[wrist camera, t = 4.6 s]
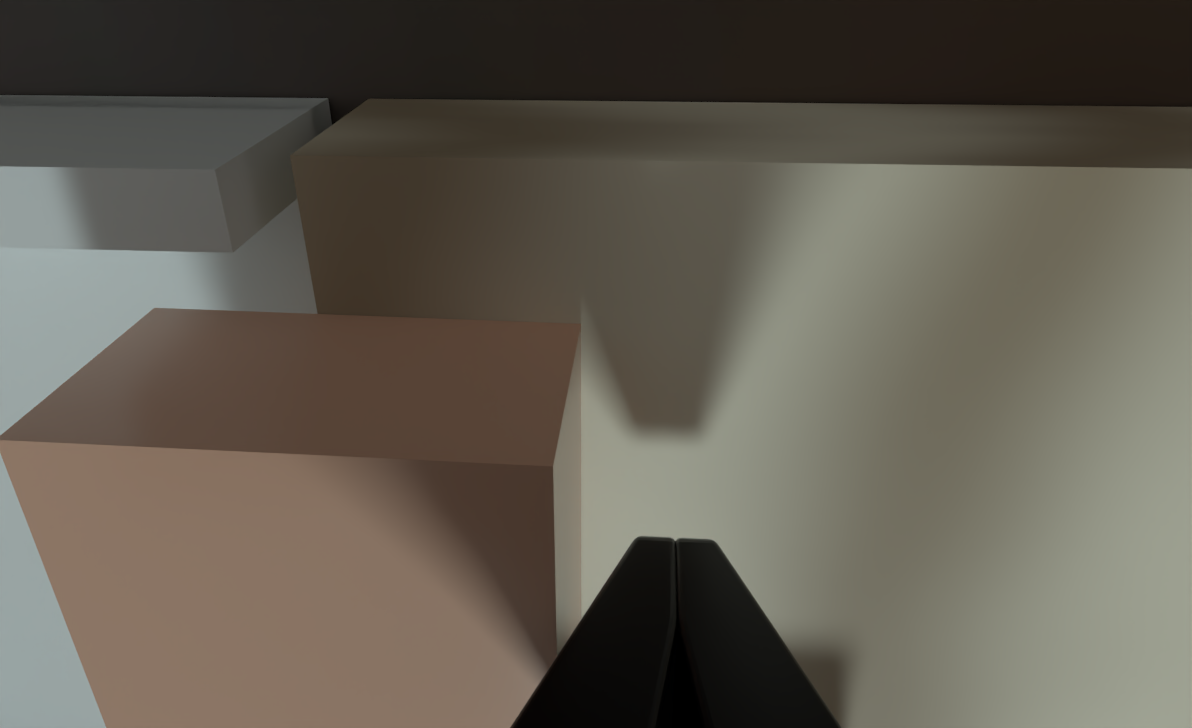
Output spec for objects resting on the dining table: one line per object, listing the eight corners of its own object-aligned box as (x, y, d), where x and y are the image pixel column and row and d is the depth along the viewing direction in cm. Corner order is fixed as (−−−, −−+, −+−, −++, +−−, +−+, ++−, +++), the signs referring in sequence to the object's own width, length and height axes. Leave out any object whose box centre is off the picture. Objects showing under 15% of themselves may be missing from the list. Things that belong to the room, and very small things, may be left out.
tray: (328, 97, 11) (214, 169, 8) (441, 856, 18) (401, 1025, 15) (-364, 91, 11) (-680, 155, 9) (17, 827, 18) (-92, 984, 16)
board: (1627, 111, 10) (1910, 178, 7) (1189, 908, 17) (1267, 1062, 15) (369, 98, 11) (289, 155, 8) (465, 858, 18) (437, 995, 16)
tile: (580, 323, 9) (553, 466, 7) (581, 642, 11) (560, 828, 9) (154, 307, 9) (-6, 440, 7) (236, 621, 11) (133, 798, 9)
